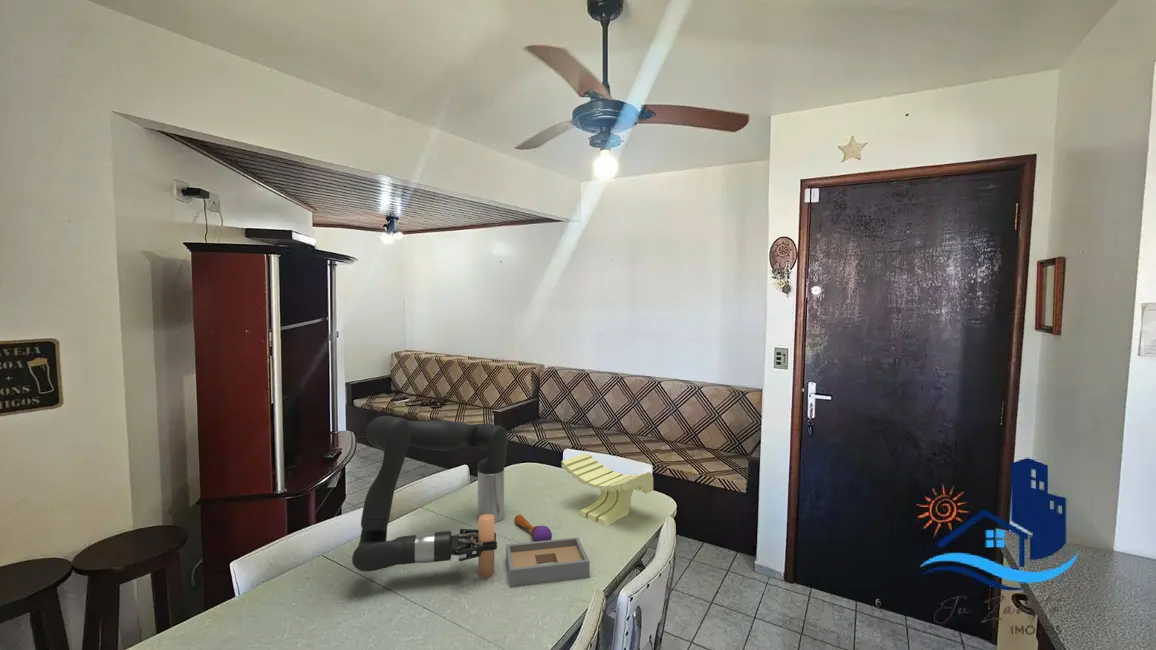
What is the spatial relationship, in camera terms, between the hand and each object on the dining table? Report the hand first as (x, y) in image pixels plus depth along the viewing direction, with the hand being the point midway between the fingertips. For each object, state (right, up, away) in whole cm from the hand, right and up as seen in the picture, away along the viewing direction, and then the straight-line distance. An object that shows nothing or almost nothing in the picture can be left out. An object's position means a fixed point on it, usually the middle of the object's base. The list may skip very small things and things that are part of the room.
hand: (496, 540), depth 134 cm
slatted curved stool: (+33, -8, +39) cm, 52 cm away
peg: (-3, -9, 0) cm, 9 cm away
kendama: (+8, -9, +22) cm, 25 cm away
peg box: (+14, -9, +3) cm, 17 cm away
